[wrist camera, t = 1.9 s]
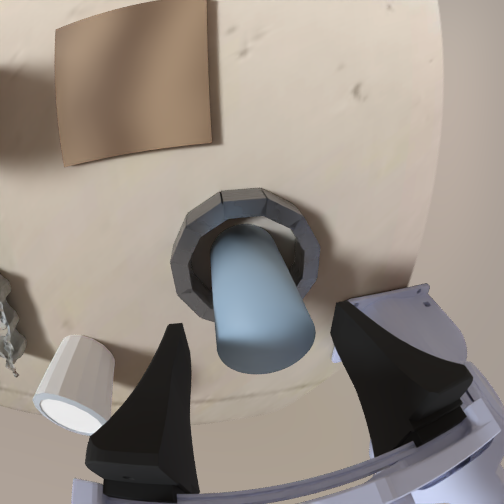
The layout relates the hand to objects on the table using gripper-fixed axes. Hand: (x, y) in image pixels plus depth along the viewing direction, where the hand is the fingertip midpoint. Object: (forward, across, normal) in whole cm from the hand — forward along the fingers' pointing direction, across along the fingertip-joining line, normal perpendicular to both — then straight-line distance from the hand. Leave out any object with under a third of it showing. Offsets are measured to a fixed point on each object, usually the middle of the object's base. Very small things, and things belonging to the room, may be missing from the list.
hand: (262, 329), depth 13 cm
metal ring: (+7, 0, 0) cm, 7 cm away
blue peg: (+7, 0, 0) cm, 7 cm away
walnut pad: (+7, +6, -12) cm, 15 cm away
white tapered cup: (+7, +15, +9) cm, 19 cm away
